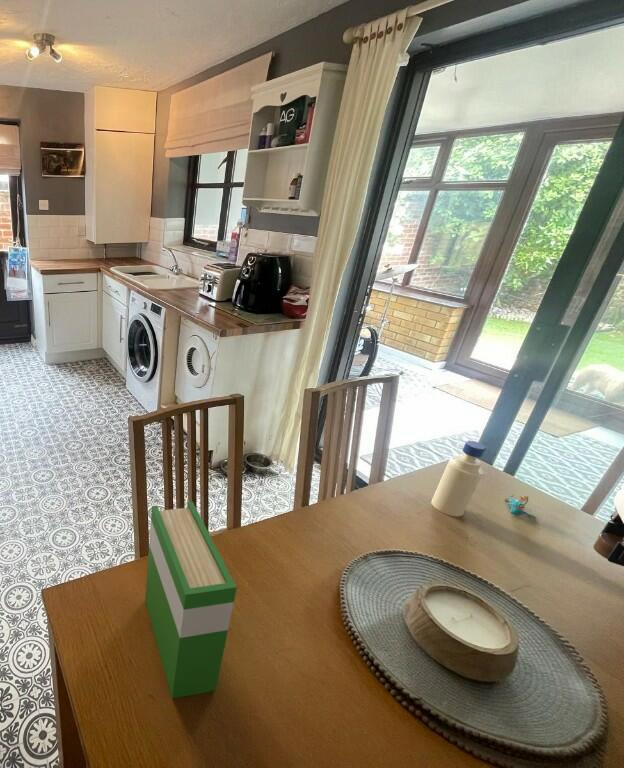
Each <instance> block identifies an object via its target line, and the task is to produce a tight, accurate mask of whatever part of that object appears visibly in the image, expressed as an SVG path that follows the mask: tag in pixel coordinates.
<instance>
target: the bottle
mask: <svg viewBox="0 0 624 768" xmlns="http://www.w3.org/2000/svg"><path fill="white" fill-rule="evenodd" d="M486 450H487V447H486V445H484V444H483V443H481V442H478V441H474V440H466V441H465V444H464V446H463V448H462V452H463V453H464V454H457V455H456V457H455V458H450V459H449V460H448V461H447V465H446V466H445V469H444V471H443V474H442V476H441V478H440V481H439V483H438V485H437V487H436V489H435V492H434V495H433V497H432V499H431V505H432V506H433V507H434V508H435V509H436V510H438V511H439V512H441V513H443V514H445V515H448V516H451V517H462V516H464V513H465V512H466V509H467V507H468V505H469V503H470V501H471V499H472V497H473V495H474V494H475V491H476V489H477V487H478V485H479V483H480V481H481V479H482V476H483V475H484V470H483V468H482V467H481V466H482V461H480V460H479V458H482V457H483V455H484V453H485V451H486Z"/></svg>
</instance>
